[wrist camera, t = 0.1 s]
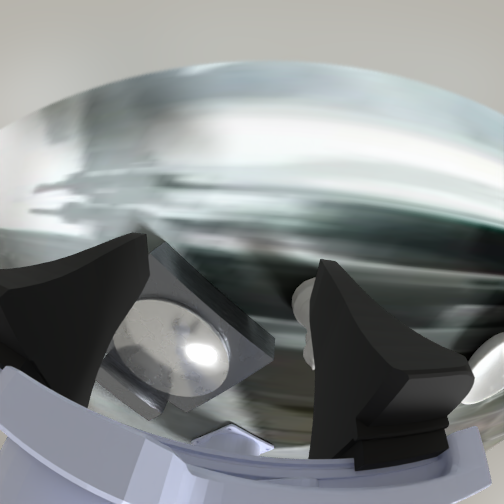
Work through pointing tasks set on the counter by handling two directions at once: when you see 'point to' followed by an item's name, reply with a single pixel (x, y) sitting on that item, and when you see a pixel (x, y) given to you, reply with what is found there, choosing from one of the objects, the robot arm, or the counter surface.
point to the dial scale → (181, 342)
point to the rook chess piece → (304, 315)
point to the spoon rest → (487, 370)
